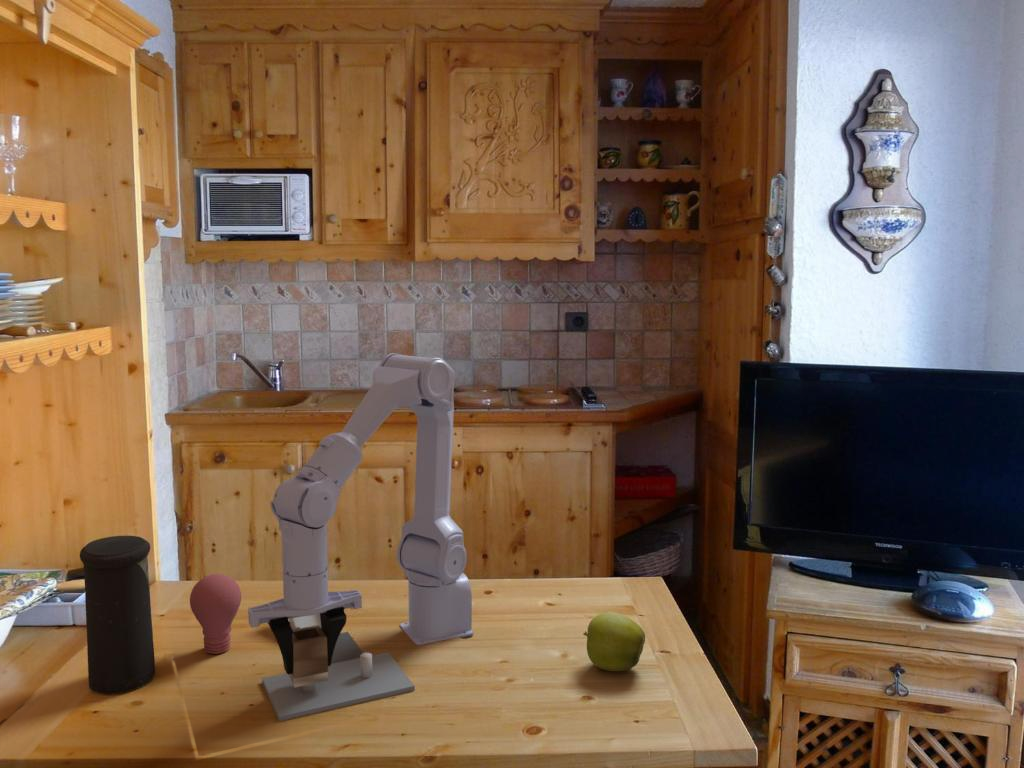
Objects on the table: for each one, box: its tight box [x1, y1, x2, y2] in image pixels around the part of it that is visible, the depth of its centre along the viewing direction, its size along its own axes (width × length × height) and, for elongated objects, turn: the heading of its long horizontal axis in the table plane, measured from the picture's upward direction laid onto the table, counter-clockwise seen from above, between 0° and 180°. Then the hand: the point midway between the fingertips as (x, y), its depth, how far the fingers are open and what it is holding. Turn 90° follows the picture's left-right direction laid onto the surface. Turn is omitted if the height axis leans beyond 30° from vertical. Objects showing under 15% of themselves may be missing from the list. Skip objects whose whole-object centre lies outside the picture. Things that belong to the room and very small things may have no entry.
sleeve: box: [288, 625, 328, 687], centre depth 115 cm, size 4×4×6 cm
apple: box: [582, 611, 646, 672], centre depth 124 cm, size 8×9×8 cm
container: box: [79, 535, 156, 695], centre depth 118 cm, size 9×9×20 cm
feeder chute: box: [288, 613, 321, 630], centre depth 135 cm, size 6×8×6 cm
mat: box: [331, 631, 364, 664], centre depth 128 cm, size 10×10×1 cm
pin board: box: [261, 652, 416, 722], centre depth 117 cm, size 18×11×4 cm, turn 117°
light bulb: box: [189, 573, 242, 655], centre depth 127 cm, size 7×7×12 cm
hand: (307, 666), depth 115 cm, fingers closed on sleeve, 4 cm apart
